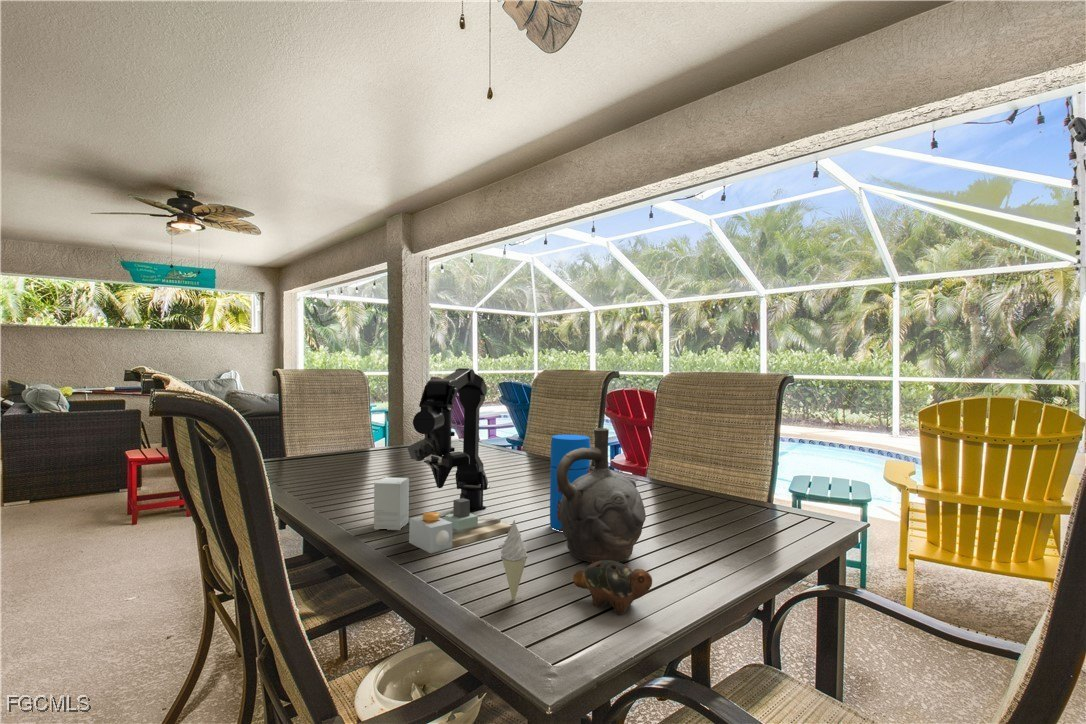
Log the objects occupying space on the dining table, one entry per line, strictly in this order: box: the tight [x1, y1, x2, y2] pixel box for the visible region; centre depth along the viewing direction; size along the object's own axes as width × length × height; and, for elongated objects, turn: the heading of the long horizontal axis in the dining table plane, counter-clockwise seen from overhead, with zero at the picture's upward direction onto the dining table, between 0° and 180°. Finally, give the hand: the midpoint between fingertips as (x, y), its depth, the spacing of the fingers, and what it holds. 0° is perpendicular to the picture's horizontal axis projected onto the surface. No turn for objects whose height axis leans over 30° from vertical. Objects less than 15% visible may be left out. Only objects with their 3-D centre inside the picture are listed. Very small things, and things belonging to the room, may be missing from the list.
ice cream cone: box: [500, 520, 528, 601], centre depth 97 cm, size 5×5×15 cm
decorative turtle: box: [572, 560, 653, 615], centre depth 95 cm, size 10×15×8 cm, turn 67°
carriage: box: [444, 498, 479, 531], centre depth 132 cm, size 6×6×6 cm
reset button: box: [422, 511, 440, 524], centre depth 126 cm, size 4×4×4 cm
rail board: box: [452, 516, 512, 548], centre depth 135 cm, size 19×10×3 cm, turn 134°
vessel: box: [557, 427, 647, 564], centre depth 119 cm, size 24×22×30 cm
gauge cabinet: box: [408, 515, 453, 554], centre depth 126 cm, size 6×10×6 cm, turn 44°
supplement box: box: [373, 476, 410, 531], centre depth 140 cm, size 7×7×13 cm
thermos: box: [549, 434, 591, 531], centre depth 142 cm, size 11×11×25 cm
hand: (439, 487), depth 134 cm, fingers closed
